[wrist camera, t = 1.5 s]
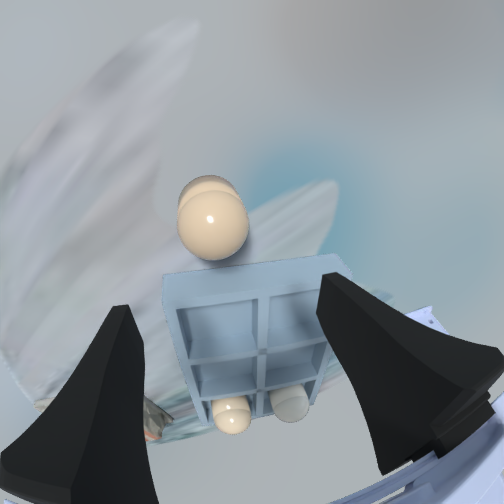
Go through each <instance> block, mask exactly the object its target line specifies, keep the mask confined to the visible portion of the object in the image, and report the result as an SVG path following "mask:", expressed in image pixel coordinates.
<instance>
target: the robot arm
mask: <svg viewBox="0 0 504 504" xmlns="http://www.w3.org/2000/svg"><path fill="white" fill-rule="evenodd" d="M431 311H432V306H427V307H424V308H421V309H418V310H415V311H413V312H409V313H406V314H402V313H400V312H399V311H397V310H395V309H394V308H392V307H390V306H389V305H387V304H385V303H384V302H382V301H381V300H379V299H377V298H376V297H374V296H373V295H371V294H370V293H368V292H367V291H365V290H364V289H362V288H361V287H359V286H358V285H356V284H355V283H353V282H352V281H350V280H349V279H347V278H346V277H344V276H343V275H341V274H339V273H338V272H333V273H327V274H322V280H321V286H320V292H319V298H318V303H317V309H316V315H317V318H318V320H319V323H320V325H321V328H322V330H323V333H324V335H325V337H326V339H327V340H328V342H329V344H330V346H331V348H332V349H333V351H334V353H335V355H336V356H337V358H338V360H339V362H340V363H341V365H342V367H343V369H344V371H345V372H346V374H347V376H348V378H349V380H350V381H351V384H352V386H353V388H354V390H355V393H356V395H357V398H358V400H359V403H360V405H361V408H362V411H363V414H364V416H365V419H366V422H367V425H368V428H369V432H370V435H371V438H372V442H373V446H374V450H375V454H376V458H377V463H378V468H379V470H380V471H381V474H382V475H383V476H384V475H386V474H388V473H390V472H391V471H393V470H395V469H397V468H399V467H401V466H402V465H404V464H406V463H408V462H409V461H411V460H412V461H413V464H411V465H409V466H407V467H406V468H404V469H402V470H400V471H398V472H397V473H395V474H393V475H391V476H389V477H387V478H385V479H383V480H382V481H379V482H377V483H375V484H373V485H371V486H369V487H367V488H365V489H362V490H360V491H358V492H356V493H353V494H351V495H349V496H346V497H344V498H341V499H339V500H336V501H333V502H331V503H328V504H371V503H373V502H375V501H377V500H379V499H381V498H383V497H385V496H387V495H389V494H391V493H393V492H395V491H396V490H398V489H400V488H402V487H404V486H405V485H406V486H405V490H404V492H402V493H400V494H398V495H396V496H393V497H391V498H389V499H387V500H385V501H383V502H381V503H379V504H504V476H503V474H502V470H503V469H504V392H503V393H502V394H501V395H500V396H498V397H497V398H496V400H494V401H493V402H492V403H491V404H490V403H489V402H488V399H489V398H490V394H489V392H488V391H487V390H488V389H489V388H490V387H491V386H492V385H493V384H494V383H495V382H496V380H497V379H498V378H499V377H500V376H501V375H502V373H503V372H504V355H503V354H502V353H501V352H500V350H499V349H498V348H496V347H491V346H486V345H481V344H476V343H472V342H468V341H465V340H462V339H459V338H455V337H453V336H450V335H449V334H448V332H447V331H446V330H445V329H444V328H443V327H442V325H441V324H440V323H439V322H438V321H437V319H436V318H435V317H434V316H433V315H432V314H431ZM144 377H145V358H144V342H143V340H142V337H141V335H140V332H139V330H138V328H137V325H136V323H135V320H134V318H133V315H132V313H131V310H130V307H129V305H119V306H113V307H112V308H111V310H110V312H109V313H108V315H107V317H106V318H105V320H104V322H103V324H102V325H101V327H100V329H99V331H98V332H97V334H96V336H95V337H94V339H93V341H92V343H91V344H90V346H89V348H88V349H87V351H86V353H85V354H84V356H83V358H82V359H81V361H80V362H79V364H78V366H77V367H76V369H75V370H74V372H73V373H72V375H71V376H70V378H69V379H68V381H67V382H66V384H65V385H64V386H63V388H62V389H61V391H60V392H59V393H58V395H57V396H56V397H55V398H54V400H53V401H52V402H51V403H50V404H49V406H48V407H47V408H46V409H45V410H44V412H43V413H42V414H41V415H40V416H39V418H37V420H36V421H35V422H34V423H33V424H32V425H31V426H30V427H29V428H28V429H27V430H26V431H25V432H24V433H23V434H22V435H21V436H20V437H19V438H17V439H16V440H15V441H14V442H13V443H12V444H10V445H9V446H8V447H7V448H6V449H5V450H3V451H2V452H1V456H0V488H1V489H2V490H4V491H6V492H8V493H10V494H12V495H15V496H17V497H19V498H21V499H24V500H26V501H29V502H31V503H34V504H159V502H158V498H157V495H156V492H155V488H154V484H153V479H152V475H151V471H150V466H149V461H148V455H147V448H146V441H145V433H144V420H143V408H144ZM4 504H17V503H15V502H12V501H9V500H7V499H5V500H4Z"/></svg>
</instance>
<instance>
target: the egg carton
mask: <svg viewBox="0 0 504 504" xmlns="http://www.w3.org/2000/svg"><path fill="white" fill-rule="evenodd" d="M333 272H338V273H339V274H341V275H343V276H344V277H346V278H347V279H349V280H350V281H352V277H353V273H352V272H351V271H350V270H349V268H348V267H347V266H346V265H345V264H344V262H343V261H342V260H341V259H340V258H339V256H338V255H337V254H336V253H332V254H325V255H317V256H310V257H302V258H295V259H287V260H279V261H272V262H264V263H256V264H248V265H240V266H232V267H224V268H216V269H208V270H200V271H191V272H183V273H174V274H166V275H163V285H162V305H163V308H164V312H165V316H166V319H167V323H168V327H169V330H170V333H171V337H172V340H173V344H174V347H175V350H176V353H177V356H178V360H179V363H180V366H181V369H182V372H183V375H184V378H185V381H186V384H187V386H188V389H189V392H190V395H191V398H192V400H193V403H194V406H195V408H196V411H197V414H198V416H199V419H200V421H201V424H202V426H209V425H215V423H214V419H213V414H212V408H211V402H210V400H216V399H223V398H230V397H236V396H242V395H246V396H247V400H248V404H249V408H250V411H251V417H252V418H251V419H254V418H259V417H264V416H269V415H273V414H274V411H273V408H272V405H271V402H270V399H269V396H268V392H267V391H269V390H274V389H279V388H283V387H288V386H292V385H296V384H300V383H302V384H303V387H304V389H305V392H306V394H307V397H308V399H309V403H310V405H313V404H314V402H315V399H316V396H317V394H318V391H319V388H320V385H321V383H322V380H323V377H324V374H325V371H326V368H327V365H328V362H329V359H330V356H331V353H332V348H331V346H330V344H329V342H328V340H327V339H326V337H325V335H324V333H323V330H322V328H321V325H320V323H319V320H318V318H317V315H316V309H317V303H318V298H319V292H320V286H321V280H322V274H327V273H333Z"/></svg>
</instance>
